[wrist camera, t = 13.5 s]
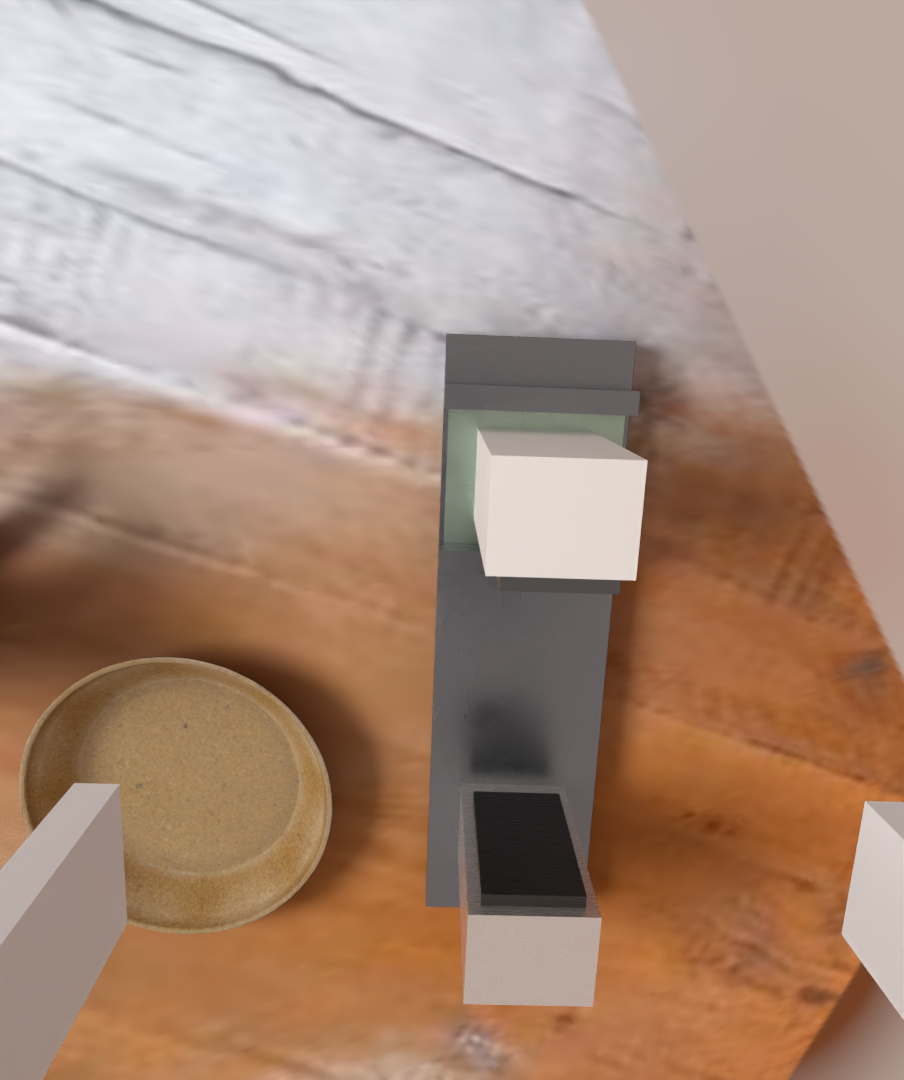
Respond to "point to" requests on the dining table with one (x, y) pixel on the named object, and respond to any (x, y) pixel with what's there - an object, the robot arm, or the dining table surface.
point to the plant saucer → (189, 788)
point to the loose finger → (557, 510)
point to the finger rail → (518, 690)
